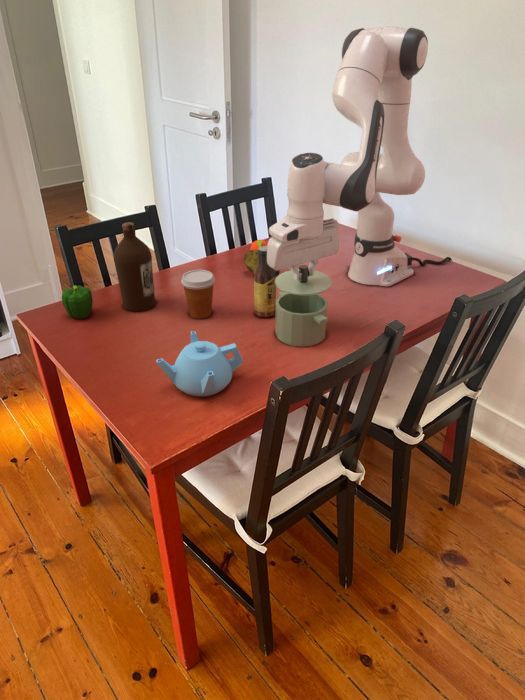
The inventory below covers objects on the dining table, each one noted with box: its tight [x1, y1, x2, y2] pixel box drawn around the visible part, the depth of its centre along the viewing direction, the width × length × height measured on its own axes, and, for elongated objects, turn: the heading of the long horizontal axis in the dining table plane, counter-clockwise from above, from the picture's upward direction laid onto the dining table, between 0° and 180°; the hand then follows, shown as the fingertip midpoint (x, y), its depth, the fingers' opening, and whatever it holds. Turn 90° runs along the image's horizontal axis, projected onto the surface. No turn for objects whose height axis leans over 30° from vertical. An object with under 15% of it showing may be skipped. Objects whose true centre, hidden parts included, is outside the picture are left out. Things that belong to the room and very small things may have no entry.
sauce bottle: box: [253, 246, 277, 318], centre depth 149 cm, size 6×6×20 cm
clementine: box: [249, 239, 268, 251], centre depth 187 cm, size 8×7×7 cm
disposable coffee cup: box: [180, 269, 216, 319], centre depth 152 cm, size 10×10×12 cm
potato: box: [243, 249, 281, 277], centre depth 175 cm, size 8×13×8 cm, turn 34°
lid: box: [275, 264, 333, 296], centre depth 136 cm, size 15×15×5 cm
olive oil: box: [113, 221, 156, 312], centre depth 153 cm, size 11×11×25 cm
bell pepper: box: [61, 285, 93, 320], centre depth 152 cm, size 8×8×10 cm
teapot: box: [155, 330, 244, 398], centre depth 123 cm, size 15×15×11 cm
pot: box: [274, 291, 329, 347], centre depth 142 cm, size 14×19×10 cm
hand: (303, 277), depth 136 cm, fingers closed on lid, 2 cm apart
